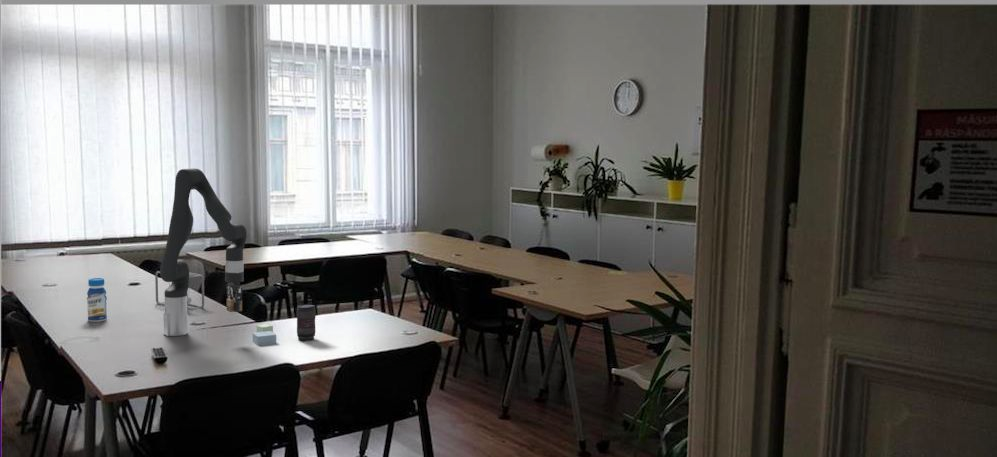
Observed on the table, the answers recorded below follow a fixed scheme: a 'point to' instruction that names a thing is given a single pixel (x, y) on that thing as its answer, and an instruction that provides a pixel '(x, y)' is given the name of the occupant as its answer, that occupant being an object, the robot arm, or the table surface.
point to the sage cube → (264, 328)
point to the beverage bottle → (96, 300)
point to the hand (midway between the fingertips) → (234, 309)
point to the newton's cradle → (187, 295)
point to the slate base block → (264, 338)
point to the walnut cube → (231, 305)
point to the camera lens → (306, 322)
